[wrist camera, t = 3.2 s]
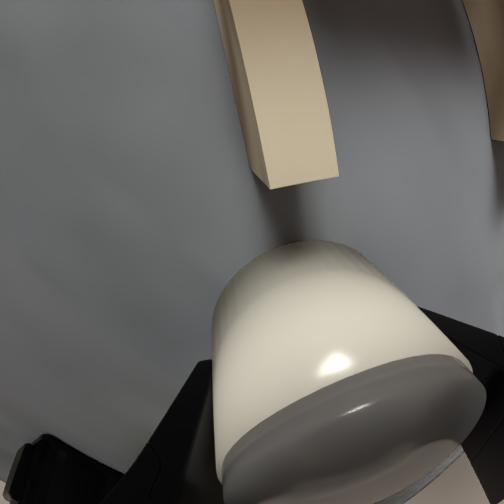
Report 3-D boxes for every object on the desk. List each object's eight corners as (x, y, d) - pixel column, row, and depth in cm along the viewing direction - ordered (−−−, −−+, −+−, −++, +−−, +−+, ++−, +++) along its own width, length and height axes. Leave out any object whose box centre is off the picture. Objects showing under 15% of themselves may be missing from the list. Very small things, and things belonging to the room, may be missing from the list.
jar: (407, 317, 10) (494, 423, 5) (287, 406, 11) (319, 528, 6) (323, 197, 8) (469, 305, 3) (172, 327, 9) (151, 497, 4)
